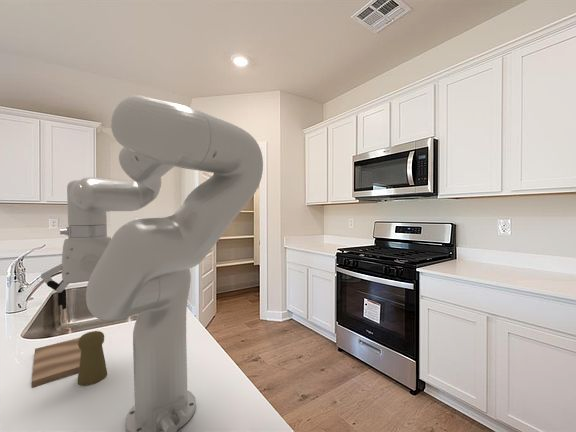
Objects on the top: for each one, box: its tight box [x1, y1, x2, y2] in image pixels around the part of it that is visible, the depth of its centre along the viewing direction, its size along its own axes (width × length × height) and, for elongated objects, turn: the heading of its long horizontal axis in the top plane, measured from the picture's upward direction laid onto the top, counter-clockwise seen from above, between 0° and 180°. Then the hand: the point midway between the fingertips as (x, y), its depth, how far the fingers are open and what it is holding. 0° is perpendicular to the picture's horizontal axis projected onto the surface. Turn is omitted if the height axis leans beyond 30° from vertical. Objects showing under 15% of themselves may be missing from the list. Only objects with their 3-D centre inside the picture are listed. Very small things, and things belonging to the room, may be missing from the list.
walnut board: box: [31, 337, 81, 389], centre depth 75 cm, size 20×12×2 cm, turn 41°
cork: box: [76, 330, 108, 387], centre depth 67 cm, size 6×6×11 cm
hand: (89, 302), depth 67 cm, fingers open, 9 cm apart
